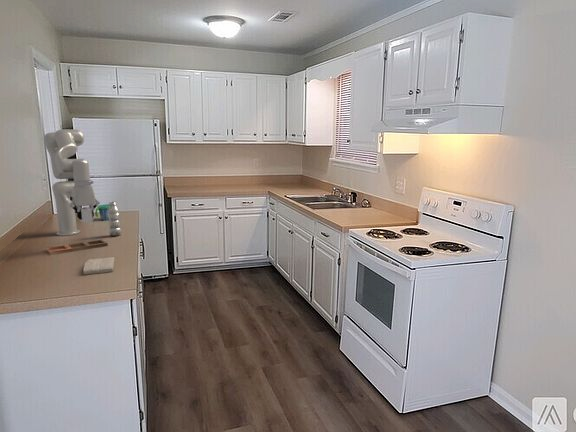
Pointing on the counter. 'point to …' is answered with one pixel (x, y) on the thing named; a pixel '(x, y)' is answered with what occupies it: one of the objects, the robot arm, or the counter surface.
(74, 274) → the counter surface
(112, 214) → the plastic bottle
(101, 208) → the snack cup
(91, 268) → the washcloth
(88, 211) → the steel plug
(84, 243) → the rail
